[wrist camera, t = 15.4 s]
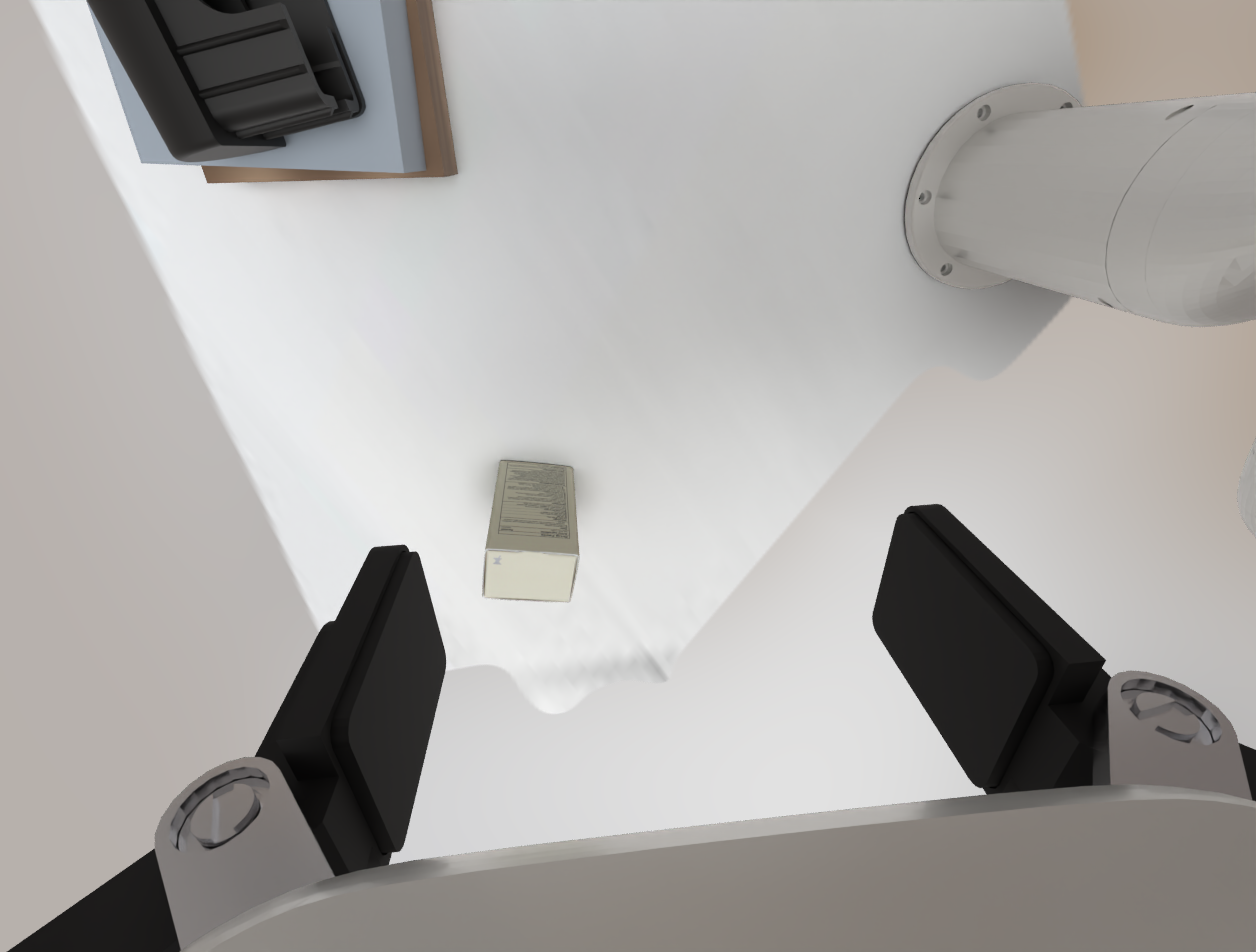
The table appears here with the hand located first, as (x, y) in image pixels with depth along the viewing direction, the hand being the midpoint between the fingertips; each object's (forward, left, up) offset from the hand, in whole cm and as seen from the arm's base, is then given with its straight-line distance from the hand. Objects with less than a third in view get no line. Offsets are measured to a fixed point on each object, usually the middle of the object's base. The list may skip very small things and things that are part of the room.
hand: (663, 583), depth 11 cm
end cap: (+15, -13, -24) cm, 31 cm away
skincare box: (+6, +17, -34) cm, 38 cm away
